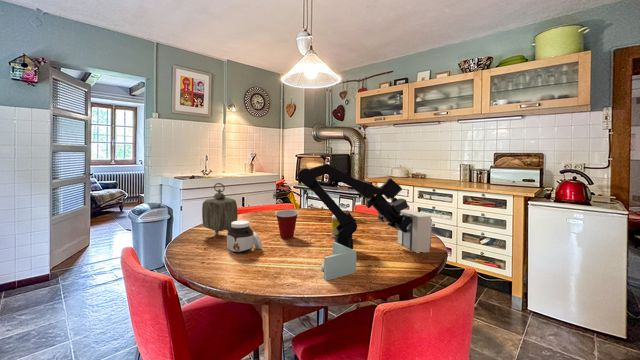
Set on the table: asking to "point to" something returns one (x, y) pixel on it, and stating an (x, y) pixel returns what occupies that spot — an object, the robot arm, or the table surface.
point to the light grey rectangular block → (408, 236)
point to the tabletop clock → (219, 212)
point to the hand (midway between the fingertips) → (406, 232)
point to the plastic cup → (287, 223)
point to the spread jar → (242, 238)
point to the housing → (417, 231)
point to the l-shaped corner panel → (339, 262)
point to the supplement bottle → (334, 225)
